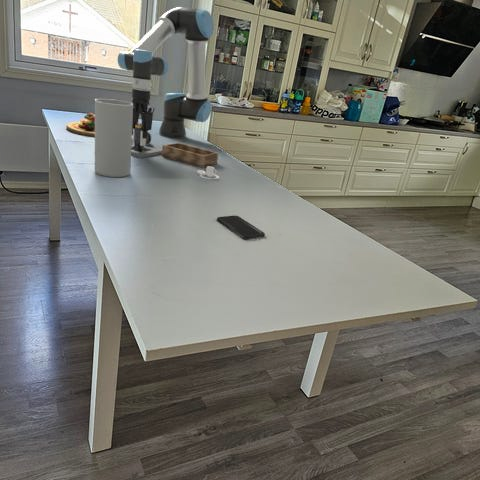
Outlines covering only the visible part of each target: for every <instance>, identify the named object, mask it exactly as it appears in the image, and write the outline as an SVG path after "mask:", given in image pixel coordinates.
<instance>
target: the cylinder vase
mask: <svg viewBox="0 0 480 480" xmlns="http://www.w3.org/2000/svg"><path fill="white" fill-rule="evenodd" d="M130 102H131V101H130ZM130 102H129V101H126V100H121V99H120V100H118V99H112V98H111V99H110V98H109V99H108V98H95V99H94V116H95V137H94V172H95V173H96V174H98V175H100V176H103V177H107V178H108V177H109V178H123V177H127V176H129V175H130V174H131V168H132V167H131V166H132V165H131V164H132V155H131V146H132V144H133V143H132V139H133V135H132V120H133V104H132V103H130Z"/></svg>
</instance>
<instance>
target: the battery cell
mask: <svg viewBox="0 0 480 480" xmlns="http://www.w3.org/2000/svg"><path fill="white" fill-rule="evenodd" d="M141 130H142V122H138V124H135V144H134V151H138V152H144V151H143V148H144V146H140V137H141Z"/></svg>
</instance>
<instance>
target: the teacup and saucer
mask: <svg viewBox="0 0 480 480" xmlns="http://www.w3.org/2000/svg"><path fill="white" fill-rule="evenodd" d="M216 173H217V169H215V166H212V165H211V166H207V167H206V171H205V170H202V169H198V170H197V174H198V175H199V177H201V178H204V179H208V180H217V179H220V176H219V175H217V174H216ZM205 176H206V177H205ZM214 176H215V177H214ZM212 177H214V178H212Z"/></svg>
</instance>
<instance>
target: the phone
mask: <svg viewBox="0 0 480 480" xmlns="http://www.w3.org/2000/svg"><path fill="white" fill-rule="evenodd" d="M216 222H218V223H219V224H220V225H222V226H223V227H225V229H228V230H229V231H230V232H232V233H233V234H234V235H236V236H237V237H239V239H241V240H246V241H247V240H253V239H254V240H255V239H260V238H264V237H265V235H266V233H265V232H264V231H262V230H261V229H259V228H258V227H256V226H255V225H253V224H252V223H250V222H248V221H247V220H245V219H244V218H241V217H240V216H239V215H227V216H217V217H216Z"/></svg>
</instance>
